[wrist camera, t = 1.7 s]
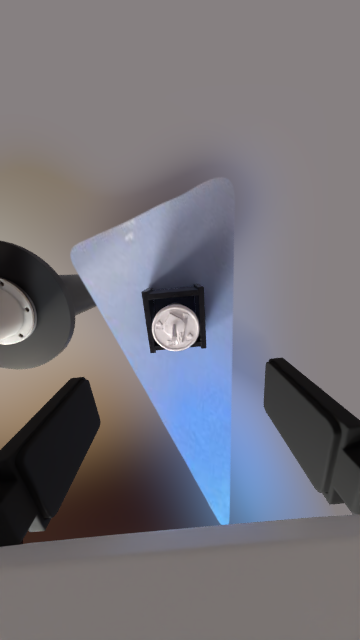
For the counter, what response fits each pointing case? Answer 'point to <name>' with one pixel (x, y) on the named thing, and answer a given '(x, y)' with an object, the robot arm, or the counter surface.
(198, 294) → the bottle stand
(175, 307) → the smoothie
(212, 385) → the counter surface
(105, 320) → the counter surface
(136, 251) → the counter surface
